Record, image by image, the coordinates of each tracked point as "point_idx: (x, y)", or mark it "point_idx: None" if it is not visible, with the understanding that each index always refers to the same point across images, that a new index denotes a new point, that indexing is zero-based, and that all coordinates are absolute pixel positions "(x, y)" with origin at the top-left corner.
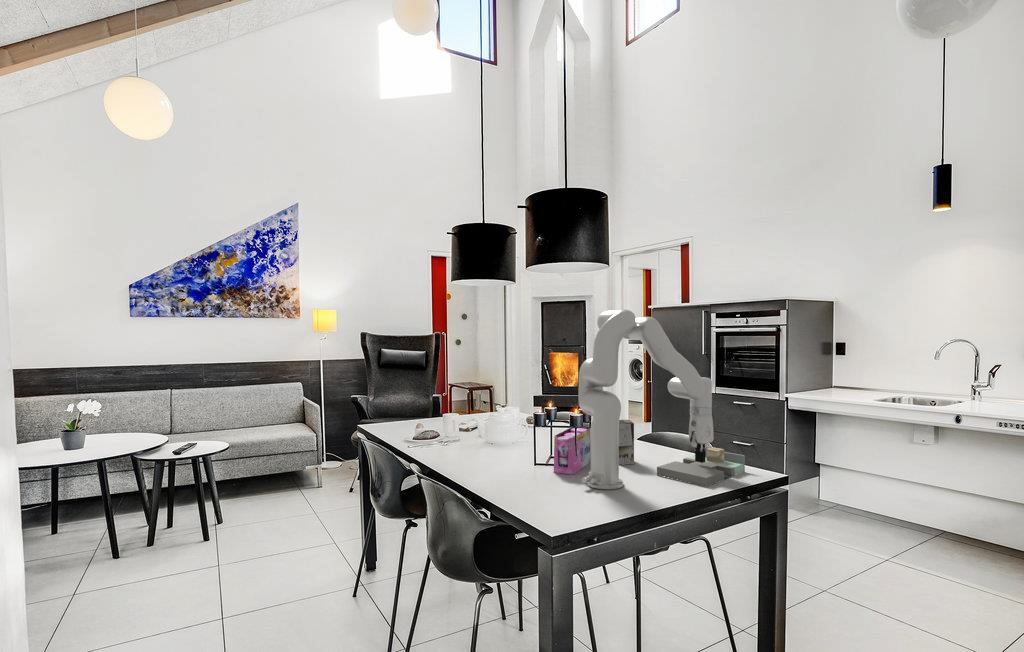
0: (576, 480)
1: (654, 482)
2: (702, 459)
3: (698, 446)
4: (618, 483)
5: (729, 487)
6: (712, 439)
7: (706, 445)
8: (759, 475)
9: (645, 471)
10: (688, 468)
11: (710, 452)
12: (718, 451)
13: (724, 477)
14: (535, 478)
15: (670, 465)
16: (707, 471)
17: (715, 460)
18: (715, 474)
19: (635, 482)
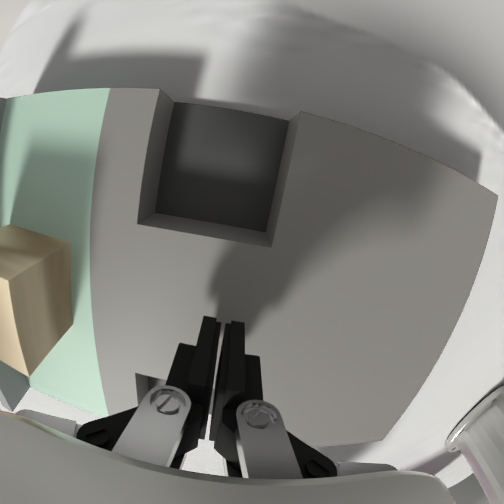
0: (454, 453)
1: (457, 371)
2: (243, 342)
3: (328, 468)
4: (500, 397)
5: (419, 78)
6: (2, 437)
7: (127, 431)
8: (63, 22)
9: (330, 451)
10: (359, 354)
11: (33, 334)
12: (2, 273)
13: (254, 126)
14: (447, 475)
15: (332, 429)
16: (382, 228)
17: (61, 266)
18: (426, 156)
19: (462, 399)
